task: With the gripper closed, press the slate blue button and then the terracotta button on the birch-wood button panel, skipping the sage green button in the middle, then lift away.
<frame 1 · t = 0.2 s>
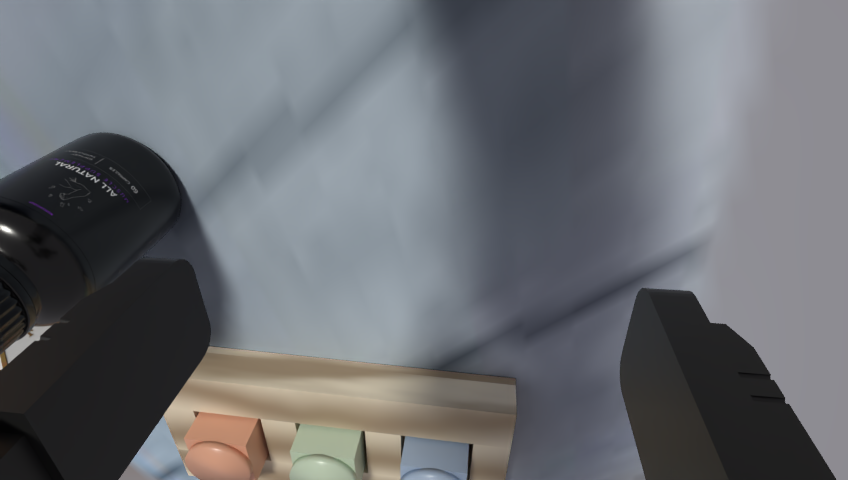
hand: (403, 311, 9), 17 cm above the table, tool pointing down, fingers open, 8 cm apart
button panel: (343, 414, 39), on the table
sage button: (328, 461, 36), point 4 cm above the table, slide at 0.0 cm
supplement bottle: (130, 181, 30), on the table
terracotta button: (227, 448, 36), point 4 cm above the table, slide at 0.0 cm
game die: (68, 299, 36), on the table
slate button: (434, 474, 35), point 4 cm above the table, slide at 0.0 cm
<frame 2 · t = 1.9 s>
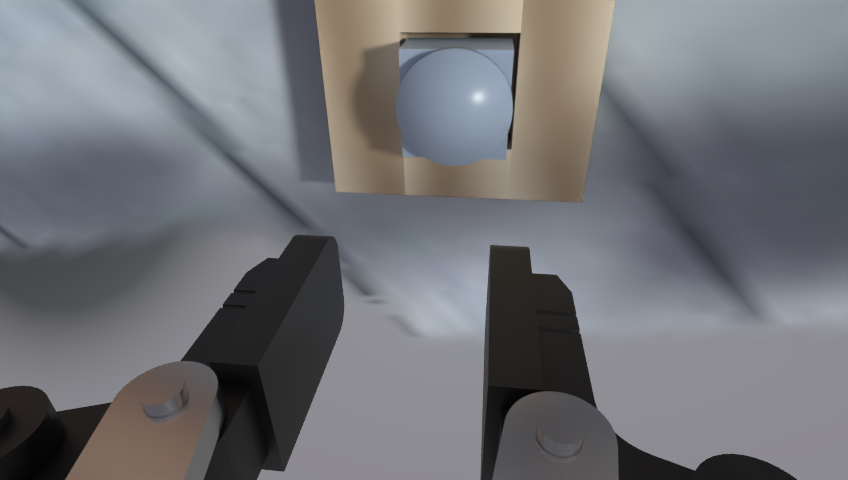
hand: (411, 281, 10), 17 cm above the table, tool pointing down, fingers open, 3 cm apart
slate button: (456, 100, 21), point 4 cm above the table, slide at 0.0 cm
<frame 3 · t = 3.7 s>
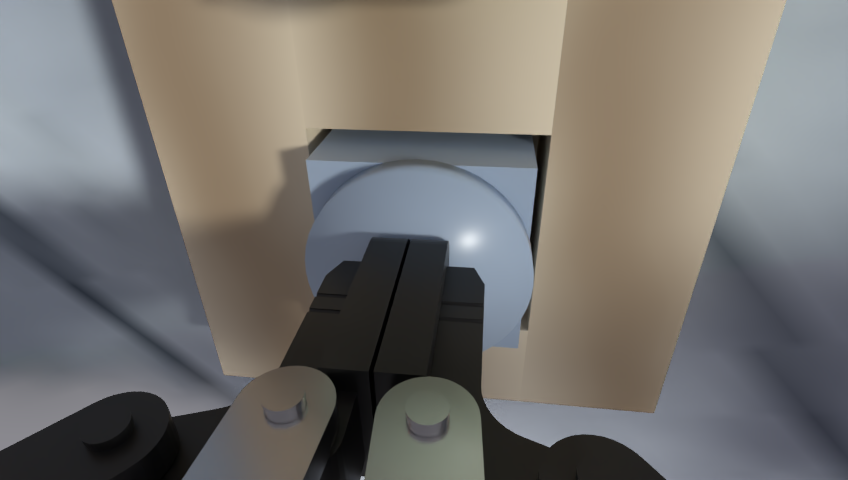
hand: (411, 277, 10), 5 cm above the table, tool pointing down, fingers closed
slate button: (426, 237, 11), point 3 cm above the table, slide at 1.0 cm, touching gripper
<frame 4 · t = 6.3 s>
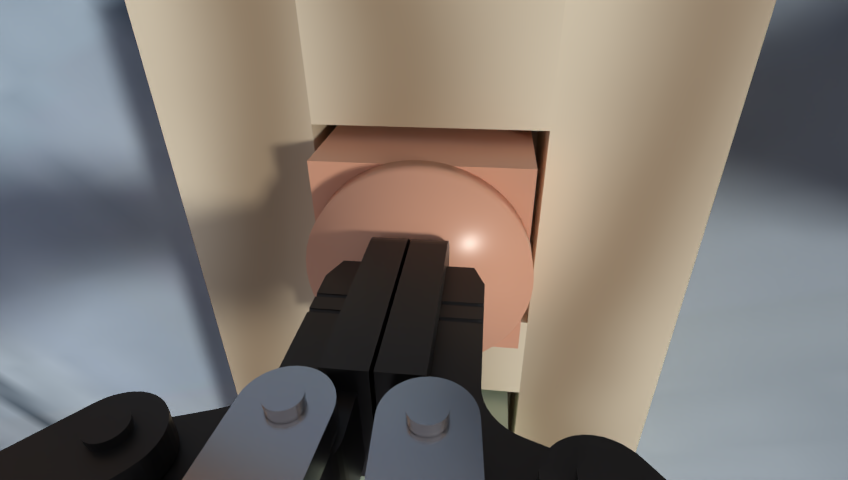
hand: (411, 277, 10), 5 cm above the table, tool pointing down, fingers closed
button panel: (440, 371, 18), on the table
sage button: (426, 471, 15), point 4 cm above the table, slide at 0.0 cm
terracotta button: (426, 238, 12), point 3 cm above the table, slide at 0.7 cm, touching gripper
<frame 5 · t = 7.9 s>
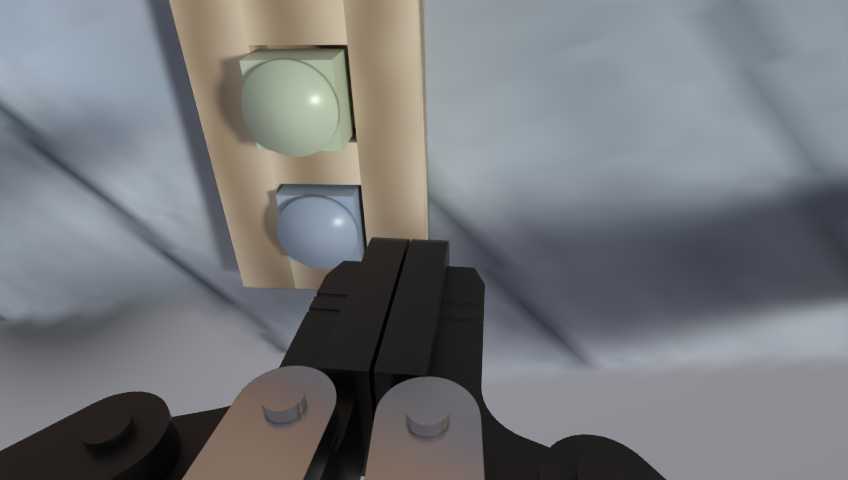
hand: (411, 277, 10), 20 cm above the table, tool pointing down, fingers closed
button panel: (320, 81, 29), on the table
sage button: (299, 101, 25), point 4 cm above the table, slide at 0.0 cm
slate button: (323, 221, 30), point 3 cm above the table, slide at 1.1 cm
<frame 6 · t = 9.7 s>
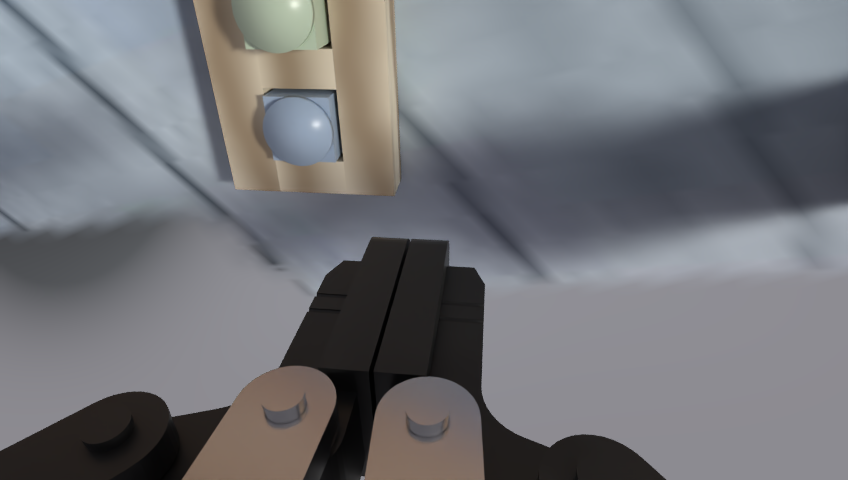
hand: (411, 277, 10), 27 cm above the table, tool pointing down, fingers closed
sage button: (281, 7, 30), point 4 cm above the table, slide at 0.0 cm
slate button: (304, 125, 34), point 3 cm above the table, slide at 1.1 cm
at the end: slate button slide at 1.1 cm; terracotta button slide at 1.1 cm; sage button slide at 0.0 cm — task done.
